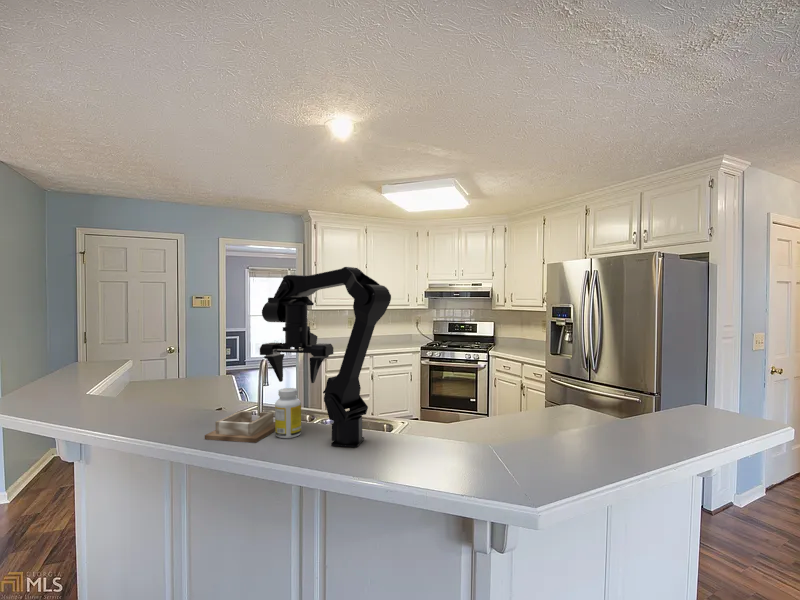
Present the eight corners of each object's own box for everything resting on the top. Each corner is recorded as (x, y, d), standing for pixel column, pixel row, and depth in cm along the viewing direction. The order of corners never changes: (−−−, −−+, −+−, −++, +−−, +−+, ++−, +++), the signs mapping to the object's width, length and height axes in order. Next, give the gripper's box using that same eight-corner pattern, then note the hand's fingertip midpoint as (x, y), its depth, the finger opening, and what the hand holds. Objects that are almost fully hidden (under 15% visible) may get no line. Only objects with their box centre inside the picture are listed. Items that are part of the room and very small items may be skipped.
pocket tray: (282, 426, 117) (282, 411, 117) (256, 442, 104) (256, 426, 104) (236, 423, 120) (236, 409, 120) (204, 439, 106) (204, 423, 106)
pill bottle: (304, 431, 112) (304, 387, 112) (296, 439, 106) (296, 392, 106) (280, 430, 113) (280, 386, 113) (271, 438, 107) (270, 392, 107)
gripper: (341, 321, 118) (341, 378, 118) (280, 321, 123) (280, 375, 123) (324, 323, 107) (324, 385, 107) (258, 323, 112) (258, 383, 112)
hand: (296, 382), depth 113 cm, fingers open, 9 cm apart
